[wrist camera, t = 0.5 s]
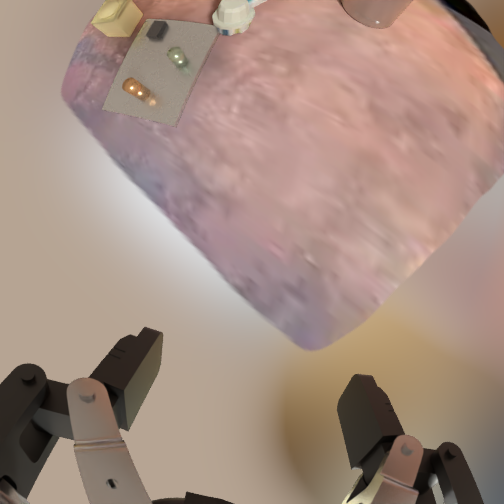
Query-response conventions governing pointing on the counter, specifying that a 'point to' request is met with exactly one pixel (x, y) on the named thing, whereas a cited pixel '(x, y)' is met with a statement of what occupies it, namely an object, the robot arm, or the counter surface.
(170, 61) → the plate
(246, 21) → the white handheld device
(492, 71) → the counter surface
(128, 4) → the cube with dome bump
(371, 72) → the counter surface
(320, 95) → the counter surface
